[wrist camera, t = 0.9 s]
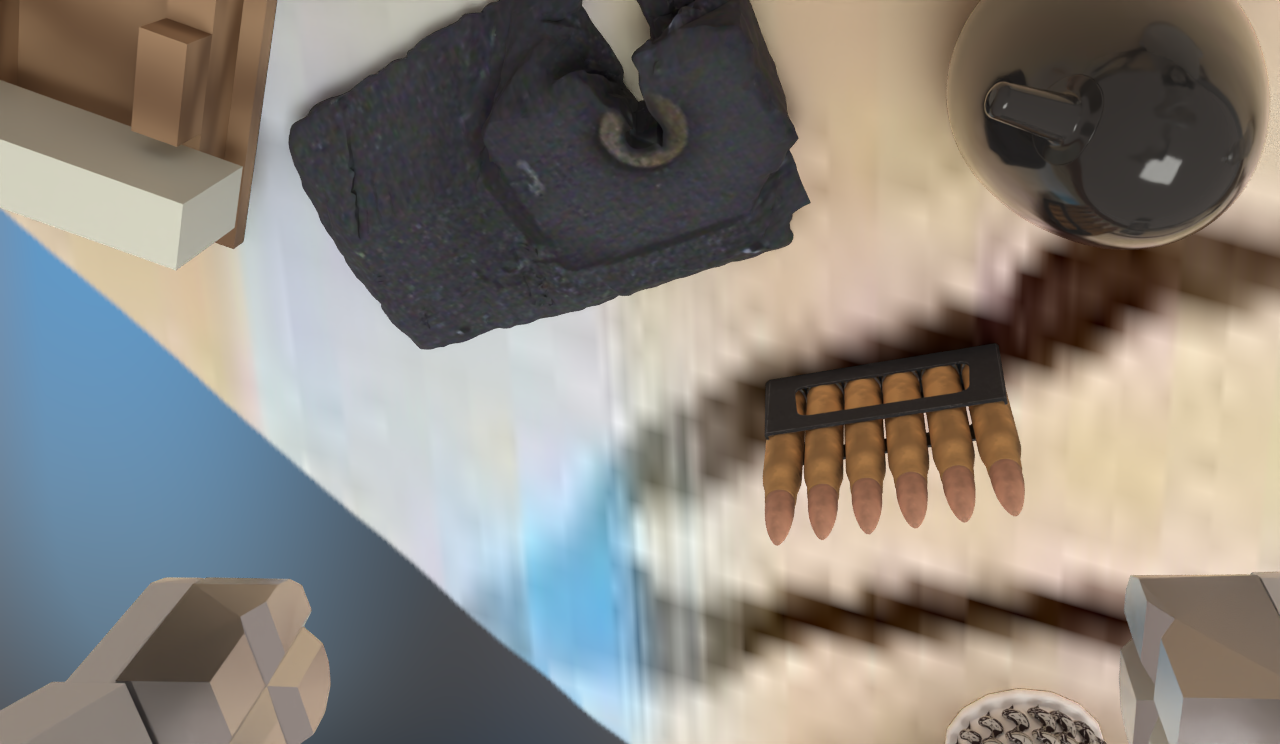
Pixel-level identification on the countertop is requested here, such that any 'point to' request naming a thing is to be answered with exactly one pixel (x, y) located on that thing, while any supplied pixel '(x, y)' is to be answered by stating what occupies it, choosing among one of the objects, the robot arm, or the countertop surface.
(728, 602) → the countertop surface
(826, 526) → the ammunition clip
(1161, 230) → the pump dispenser
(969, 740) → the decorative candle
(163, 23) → the walnut drying rack
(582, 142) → the dark slate chunk
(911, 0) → the countertop surface
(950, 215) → the countertop surface
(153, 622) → the robot arm
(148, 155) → the cream rectangular bar
